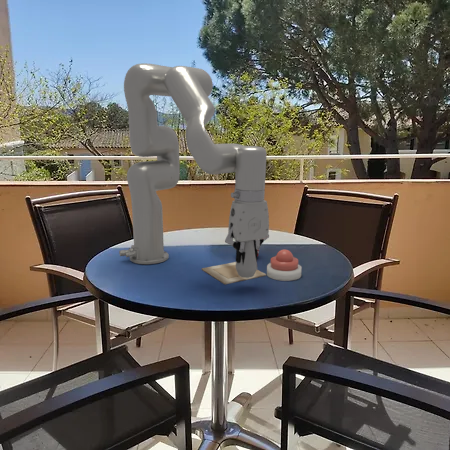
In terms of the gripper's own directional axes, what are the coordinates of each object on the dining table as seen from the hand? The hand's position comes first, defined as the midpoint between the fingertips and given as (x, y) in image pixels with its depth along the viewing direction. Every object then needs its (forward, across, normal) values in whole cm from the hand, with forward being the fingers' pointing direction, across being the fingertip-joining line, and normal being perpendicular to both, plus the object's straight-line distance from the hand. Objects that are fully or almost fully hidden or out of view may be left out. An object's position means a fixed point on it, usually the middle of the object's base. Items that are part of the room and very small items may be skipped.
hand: (246, 263), depth 109 cm
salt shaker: (+4, 0, 0) cm, 4 cm away
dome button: (+4, +15, +3) cm, 16 cm away
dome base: (+7, +15, +3) cm, 17 cm away
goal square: (+7, +3, +12) cm, 14 cm away
